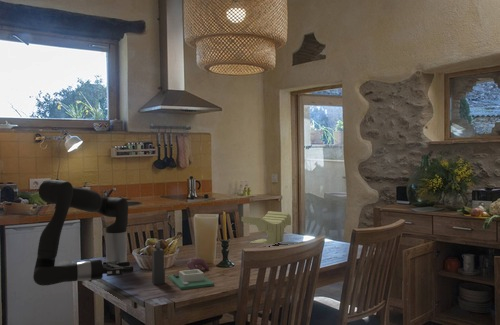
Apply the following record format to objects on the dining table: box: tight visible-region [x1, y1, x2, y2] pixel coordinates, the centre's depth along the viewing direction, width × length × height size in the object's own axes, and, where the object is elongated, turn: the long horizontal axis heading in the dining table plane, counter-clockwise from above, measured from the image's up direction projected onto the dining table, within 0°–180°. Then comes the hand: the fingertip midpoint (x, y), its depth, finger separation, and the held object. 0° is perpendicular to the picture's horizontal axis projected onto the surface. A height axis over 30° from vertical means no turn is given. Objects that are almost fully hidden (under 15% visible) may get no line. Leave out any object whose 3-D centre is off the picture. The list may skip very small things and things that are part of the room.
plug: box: [151, 241, 166, 286], centre depth 198 cm, size 4×5×17 cm
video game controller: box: [186, 257, 210, 271], centre depth 219 cm, size 10×5×7 cm, turn 141°
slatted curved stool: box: [241, 210, 292, 244], centre depth 282 cm, size 30×16×18 cm, turn 147°
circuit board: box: [167, 269, 215, 291], centre depth 200 cm, size 20×14×4 cm
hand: (131, 266), depth 193 cm, fingers open, 8 cm apart
